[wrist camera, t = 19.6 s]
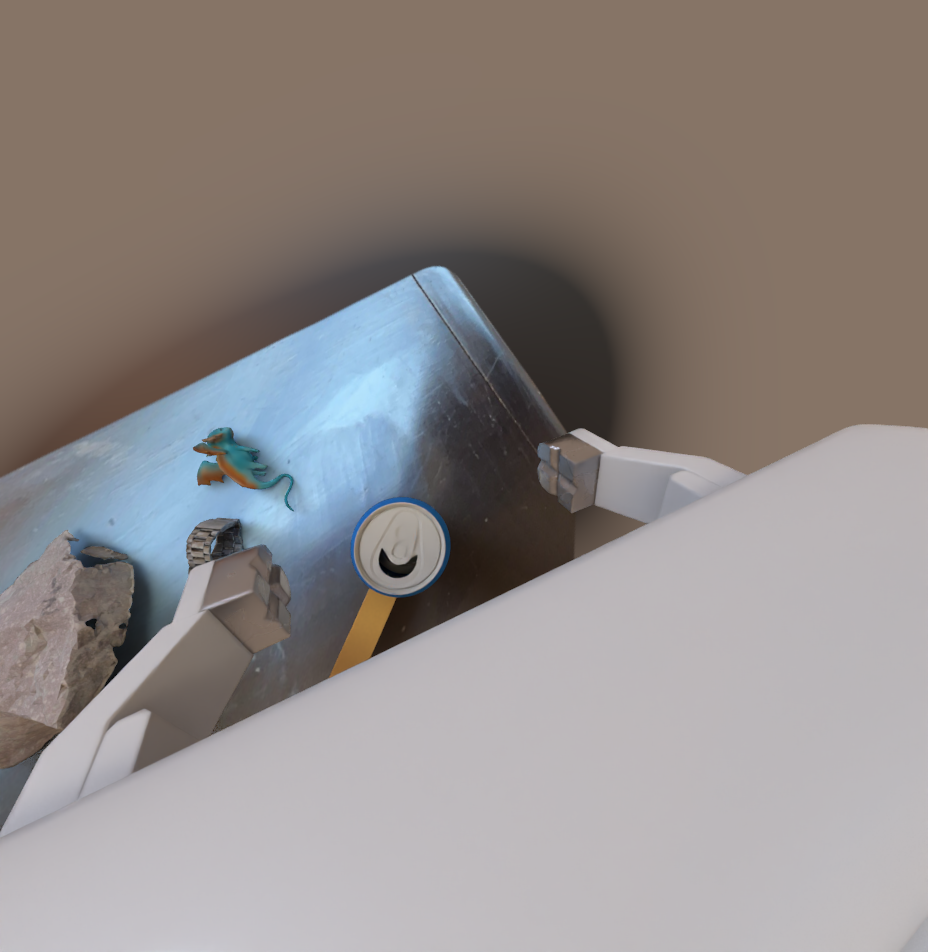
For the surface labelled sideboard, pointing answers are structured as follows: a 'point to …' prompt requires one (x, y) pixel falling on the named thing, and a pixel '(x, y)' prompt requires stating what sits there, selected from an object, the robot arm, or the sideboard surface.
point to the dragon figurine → (232, 462)
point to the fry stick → (364, 631)
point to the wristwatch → (204, 536)
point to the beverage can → (400, 547)
